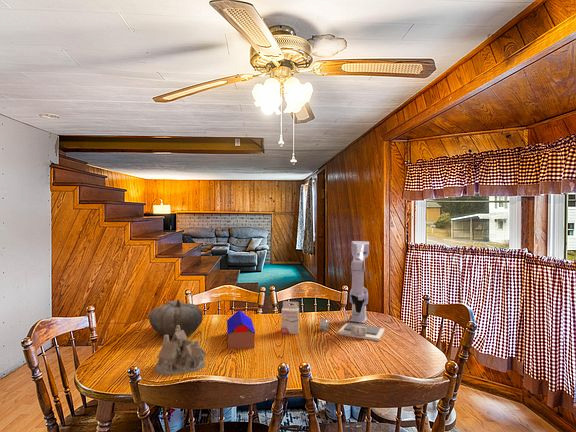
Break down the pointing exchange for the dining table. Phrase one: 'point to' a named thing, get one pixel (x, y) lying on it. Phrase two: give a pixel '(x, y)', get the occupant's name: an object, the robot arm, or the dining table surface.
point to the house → (240, 331)
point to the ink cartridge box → (290, 318)
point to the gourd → (175, 318)
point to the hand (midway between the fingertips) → (357, 310)
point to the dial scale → (362, 331)
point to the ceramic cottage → (179, 355)
